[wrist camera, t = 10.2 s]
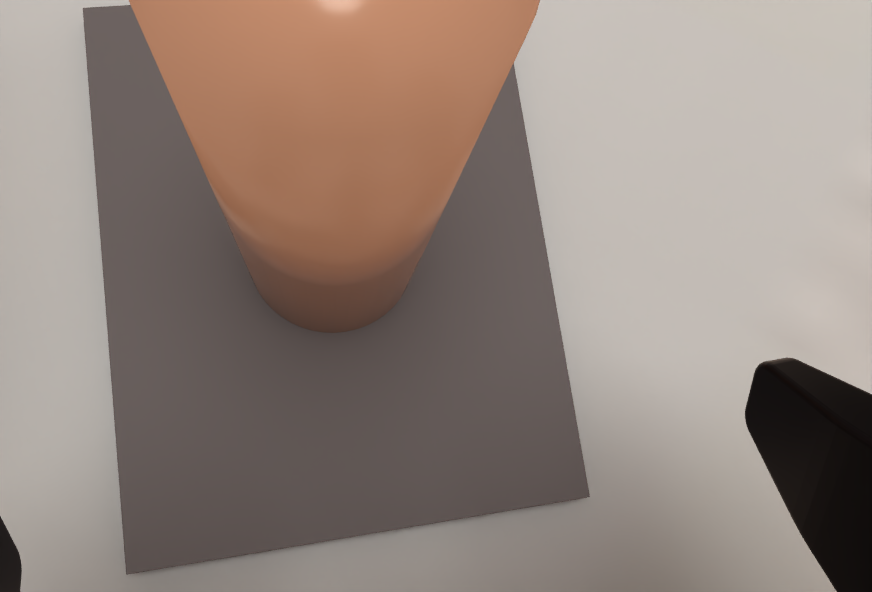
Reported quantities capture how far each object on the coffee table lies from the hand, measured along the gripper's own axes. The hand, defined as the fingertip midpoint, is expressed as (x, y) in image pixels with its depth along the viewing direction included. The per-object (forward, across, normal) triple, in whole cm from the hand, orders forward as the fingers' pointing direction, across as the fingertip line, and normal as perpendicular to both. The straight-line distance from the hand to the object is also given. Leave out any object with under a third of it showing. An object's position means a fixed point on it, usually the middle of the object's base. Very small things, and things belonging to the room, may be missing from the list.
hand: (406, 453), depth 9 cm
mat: (+11, 0, +4) cm, 12 cm away
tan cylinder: (+11, 0, +3) cm, 11 cm away
